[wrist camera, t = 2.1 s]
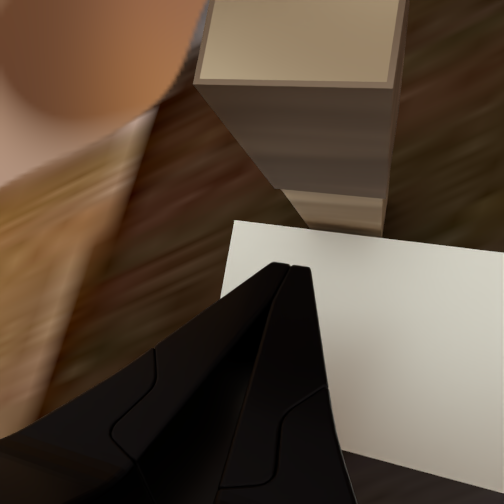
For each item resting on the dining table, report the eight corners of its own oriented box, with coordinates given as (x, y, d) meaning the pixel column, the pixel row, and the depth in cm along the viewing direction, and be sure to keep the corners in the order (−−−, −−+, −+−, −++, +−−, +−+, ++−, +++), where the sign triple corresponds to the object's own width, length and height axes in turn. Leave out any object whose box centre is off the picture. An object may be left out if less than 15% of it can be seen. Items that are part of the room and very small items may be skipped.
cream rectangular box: (554, 474, 18) (609, 522, 13) (234, 393, 22) (199, 411, 18) (573, 280, 18) (630, 268, 14) (261, 238, 23) (234, 220, 18)
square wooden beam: (492, 422, 18) (905, 789, 4) (293, 377, 21) (109, 501, 6) (516, 208, 19) (917, -115, 5) (323, 190, 22) (221, -57, 7)
